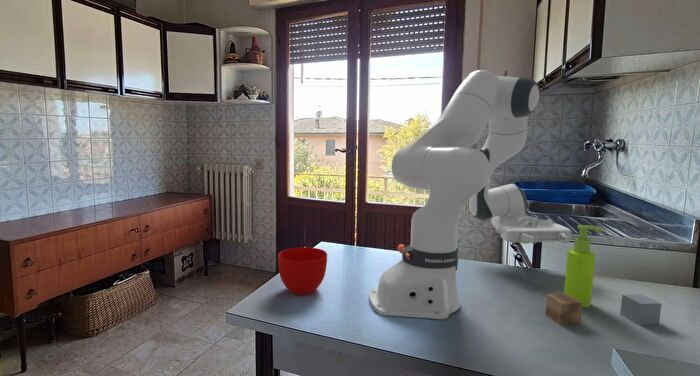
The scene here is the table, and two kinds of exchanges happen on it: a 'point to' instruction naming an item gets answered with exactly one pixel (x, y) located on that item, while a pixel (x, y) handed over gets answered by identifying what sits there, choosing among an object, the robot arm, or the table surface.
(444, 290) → the robot arm
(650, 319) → the slate-grey block
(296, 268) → the ceramic cup
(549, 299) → the walnut block
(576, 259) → the soap dispenser
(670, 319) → the table surface
